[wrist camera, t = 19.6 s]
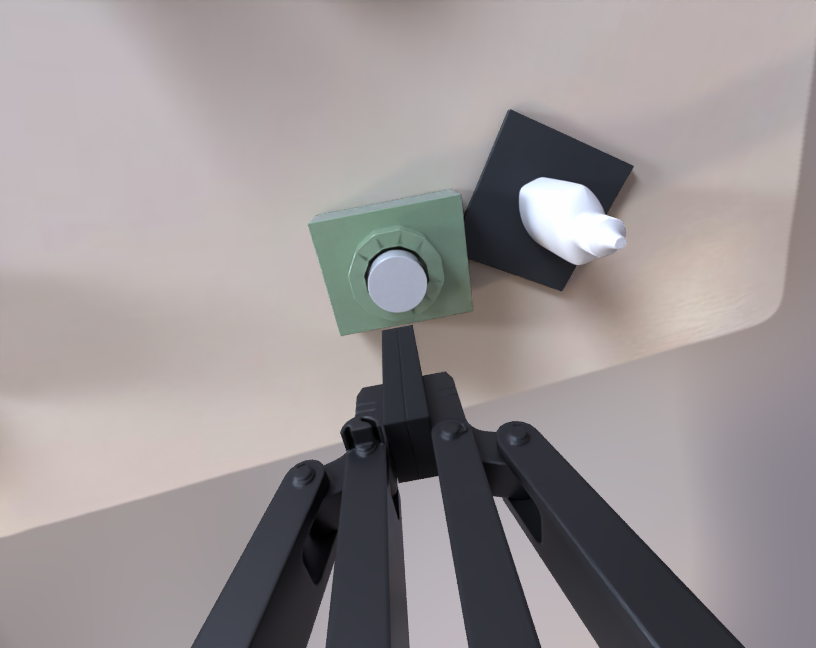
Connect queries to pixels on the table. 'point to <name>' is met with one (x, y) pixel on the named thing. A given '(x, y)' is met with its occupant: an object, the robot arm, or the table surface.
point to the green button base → (388, 230)
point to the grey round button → (397, 281)
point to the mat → (500, 187)
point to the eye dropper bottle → (569, 220)
